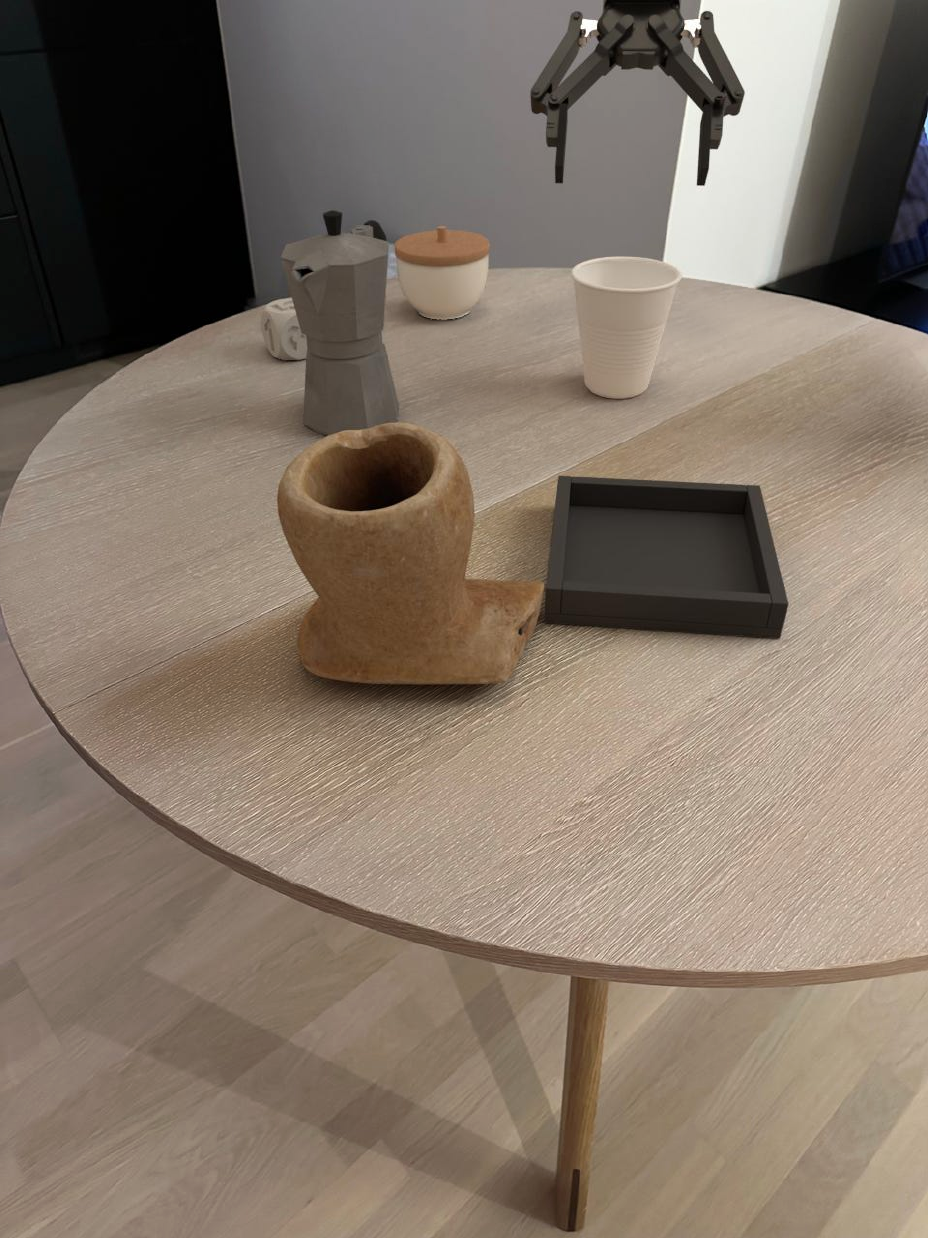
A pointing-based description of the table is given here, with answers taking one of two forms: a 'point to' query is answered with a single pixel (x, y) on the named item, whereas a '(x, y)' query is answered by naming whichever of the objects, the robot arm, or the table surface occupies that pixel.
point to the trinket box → (442, 271)
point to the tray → (664, 558)
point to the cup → (622, 320)
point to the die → (283, 331)
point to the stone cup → (397, 564)
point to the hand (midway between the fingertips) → (630, 176)
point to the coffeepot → (343, 325)
